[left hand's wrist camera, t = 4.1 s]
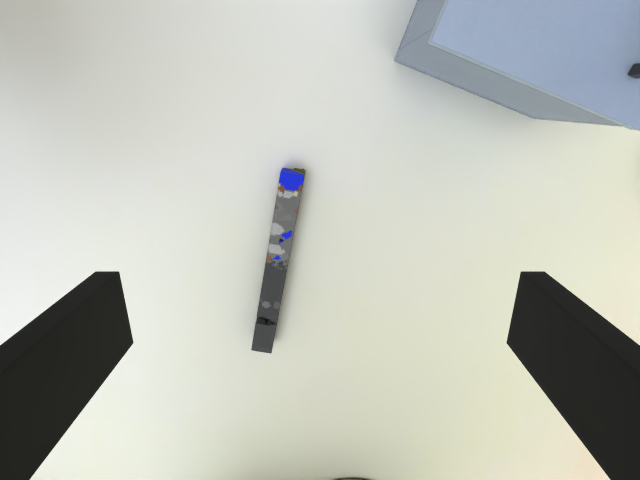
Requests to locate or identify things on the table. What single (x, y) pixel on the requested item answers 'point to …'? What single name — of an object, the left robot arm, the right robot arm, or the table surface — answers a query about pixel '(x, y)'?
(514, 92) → the chest
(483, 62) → the lid
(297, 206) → the pillar
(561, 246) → the table surface
